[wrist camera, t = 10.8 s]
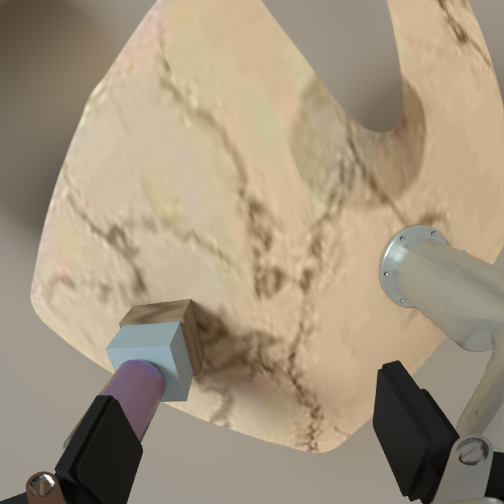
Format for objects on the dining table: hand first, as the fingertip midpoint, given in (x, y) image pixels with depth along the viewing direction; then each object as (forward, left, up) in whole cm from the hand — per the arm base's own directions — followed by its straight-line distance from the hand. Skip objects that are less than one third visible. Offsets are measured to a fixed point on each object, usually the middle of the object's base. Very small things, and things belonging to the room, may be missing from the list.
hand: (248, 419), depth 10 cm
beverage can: (+14, +12, -20) cm, 28 cm away
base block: (+14, +12, -32) cm, 37 cm away
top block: (+14, +12, -26) cm, 32 cm away
